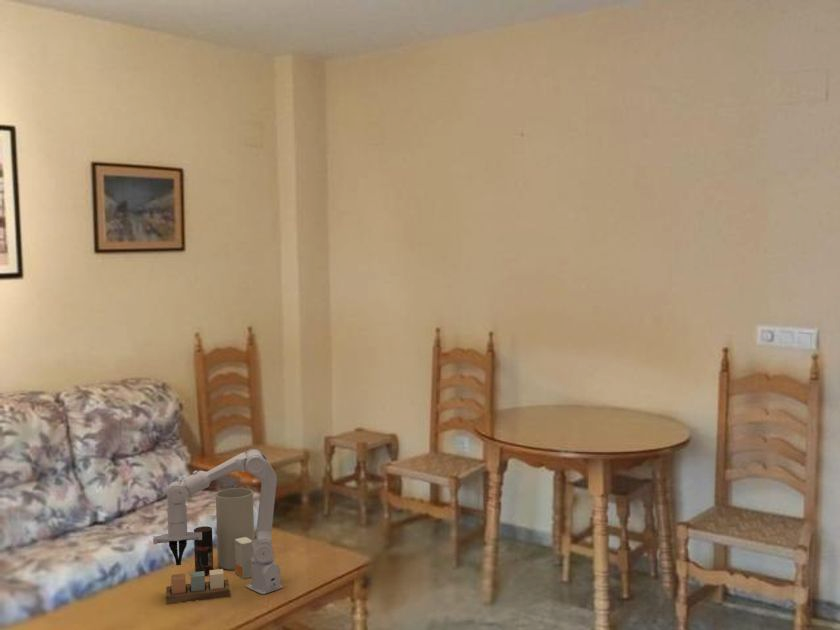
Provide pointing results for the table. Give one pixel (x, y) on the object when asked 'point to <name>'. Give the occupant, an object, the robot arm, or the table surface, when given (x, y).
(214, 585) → the cream key
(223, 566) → the cylinder vase
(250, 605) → the table surface
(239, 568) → the skincare box
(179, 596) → the socket board
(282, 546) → the table surface
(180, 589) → the terracotta key
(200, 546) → the deodorant
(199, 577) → the slate blue key
